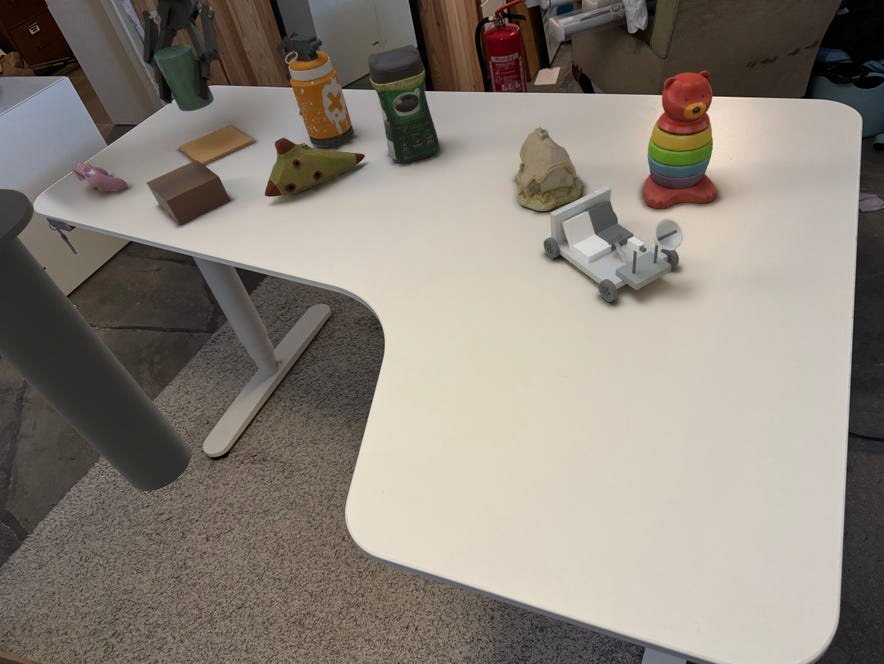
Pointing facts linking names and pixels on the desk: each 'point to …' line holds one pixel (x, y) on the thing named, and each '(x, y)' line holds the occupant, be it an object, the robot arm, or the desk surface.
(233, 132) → the cork mat
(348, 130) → the canister
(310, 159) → the ocarina
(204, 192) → the riser
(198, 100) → the green cylinder
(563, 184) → the ceramic model
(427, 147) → the coffee jar
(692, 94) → the stacking bear
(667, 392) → the desk surface
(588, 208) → the toy car
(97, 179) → the pink animal figurine
